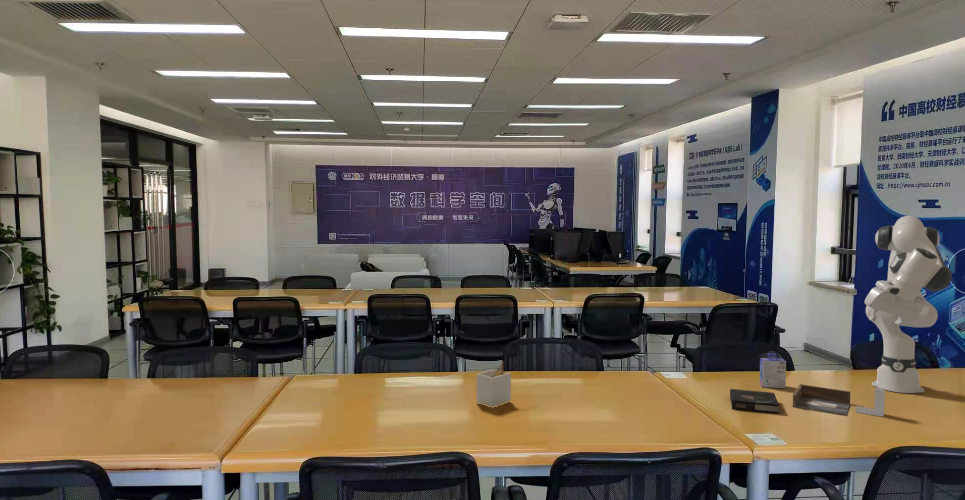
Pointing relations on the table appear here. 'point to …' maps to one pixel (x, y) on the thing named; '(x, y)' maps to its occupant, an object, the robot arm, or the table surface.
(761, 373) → the ink cartridge box
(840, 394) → the corner arena
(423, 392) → the table surface
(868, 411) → the angle bracket
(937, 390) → the table surface
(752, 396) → the flat black box
